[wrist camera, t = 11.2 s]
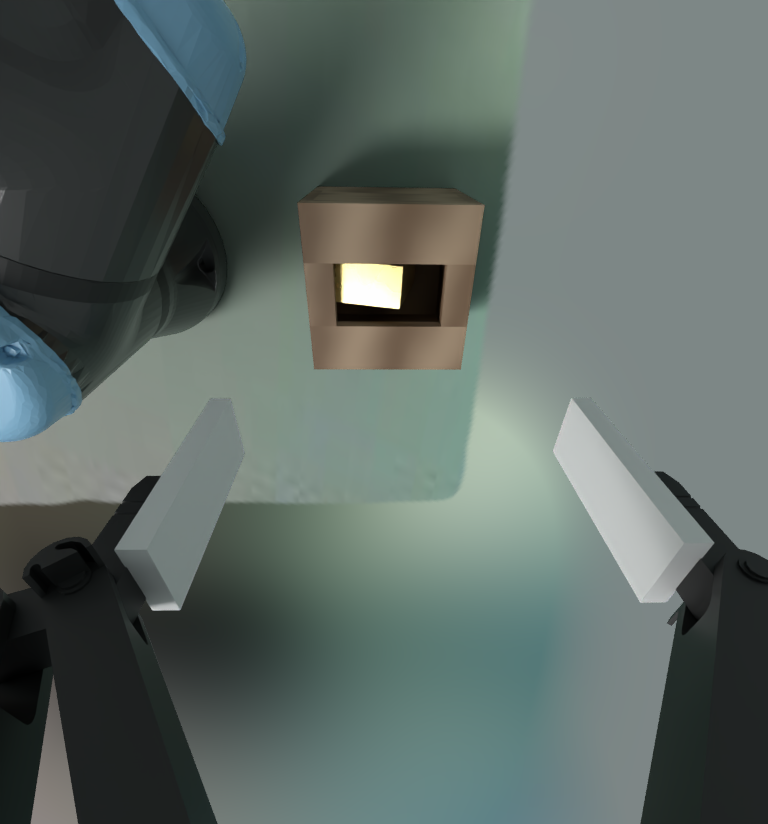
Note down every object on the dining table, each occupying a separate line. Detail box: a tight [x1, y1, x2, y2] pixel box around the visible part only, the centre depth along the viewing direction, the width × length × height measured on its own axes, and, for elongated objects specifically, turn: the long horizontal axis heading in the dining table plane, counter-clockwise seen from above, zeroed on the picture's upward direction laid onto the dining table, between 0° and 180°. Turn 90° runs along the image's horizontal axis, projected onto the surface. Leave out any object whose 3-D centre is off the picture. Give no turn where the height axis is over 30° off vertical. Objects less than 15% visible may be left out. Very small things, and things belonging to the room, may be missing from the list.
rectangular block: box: [334, 264, 416, 309], centre depth 32 cm, size 6×3×9 cm, turn 87°
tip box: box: [298, 186, 485, 369], centre depth 33 cm, size 12×12×11 cm
